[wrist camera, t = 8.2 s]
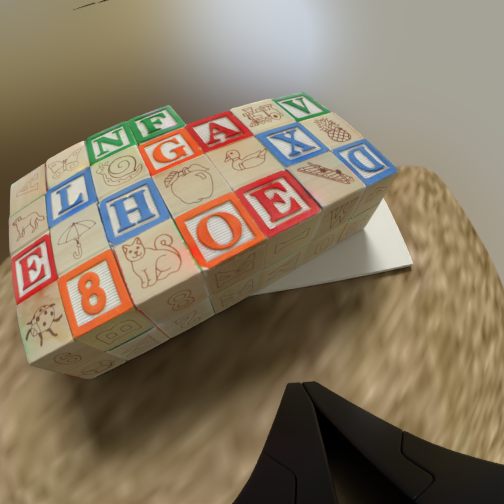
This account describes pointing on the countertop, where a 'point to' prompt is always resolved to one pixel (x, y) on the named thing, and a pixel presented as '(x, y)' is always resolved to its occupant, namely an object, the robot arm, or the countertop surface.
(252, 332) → the countertop surface
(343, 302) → the countertop surface
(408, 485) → the robot arm
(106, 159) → the stack of blocks
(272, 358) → the countertop surface
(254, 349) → the countertop surface
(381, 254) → the mat
